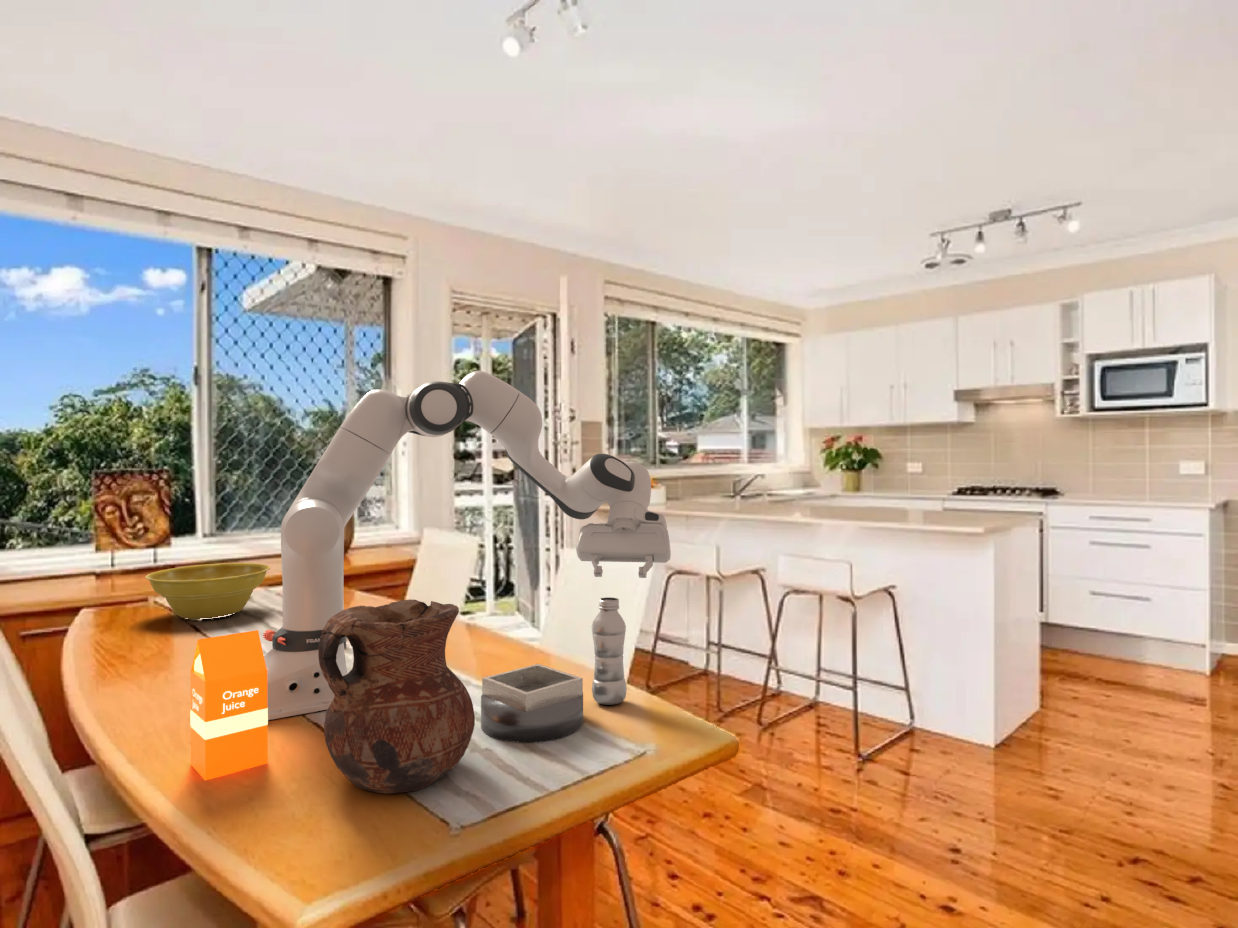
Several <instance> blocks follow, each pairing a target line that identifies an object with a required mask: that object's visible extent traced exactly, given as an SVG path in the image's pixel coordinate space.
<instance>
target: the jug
mask: <svg viewBox="0 0 1238 928" xmlns="http://www.w3.org/2000/svg"><path fill="white" fill-rule="evenodd" d="M459 609H460V608H459V607H458V605H455V604H452V603H445V604H443V603H440V602H437V601H433V600H431V601H430V605H427V603H426V602H424V601H419V600H417V599H401V600H397V601H393V602H390V603H389V604H383V605H379V606H371V605H370V606H369V605H368V606H366V605H356V606H351V607H348V608H345V609H344V610H342V611H340V612H339V613H338V614H336V615H334V616H332V617H331V618H330V619H329V620H328V621H327V623H326V625H325V627H324V629H323V631H322V635H321V638H320V642H319V653H318V657H319V664H320V668H321V671H322V674H323V676H324V677H325V679H326V680H327V682H328V685H329V687H330V689H331V690H332V692H333V693H334V699H333V700H332V702H331V704H330V706H329V708H328V709H327V710H326V714H325V718H324V725H323V728H324V729H323V735H324V739H325V744H326V749H327V751H328V753H329V755H330V758H331V759H332V761H333V762H334V764H335V765H336V766H335V767H337V769H338V770H339V771H340V772H341V773H342V774H343V775H344V776H345V777H346V778H347V779H348V780H349V781H350V782H351V783H352V785H354V786H355V787H357V788H359V789H361V790H365V791H367V792H372V793H379V794H401V793H402V794H403V793H408V792H414V791H417V790H421V789H423V788H426V787H428V786H430V785H432V784H433V783H435V782H436V781H439V779H441V778H443V777H444V776H445V775H447V774H448V773H449V772H450V771H451V770H453V768H455V767H456V766H457V765H458V763H459V762H460V761H461V759H462V758H463V757H464V755H465V753H466V751H467V749H468V748H469V745H470V742H471V740H472V736H473V733H474V729H475V725H476V724H475V718H476V717H475V709H474V704H473V701H472V698H471V696H470V694H469V691H468V690H467V689H468V688H466V686H465V684H464V683H463V682H462V680H461V679H460V678H459V677H458V676H457V675H456V674H455V673H454V672H453V671H452V670H451V669H450V667H448V666H447V660H446V646H447V640H448V635H449V633H450V630H451V628H452V626H453V624H454V622H455V620H456V618H457V617H458V615H459V612H460V610H459ZM345 636H346V639H347V640H348V642H349V644H350V646H351V647H352V653H353V657H352V658H353V663H352V668H351V670H350V671H348V674H346V675H344V676H342V674H341V672H340V670H339V668H338V665H337V663H336V654H337V651H338V647H339V643H340V640H341V638H342V637H345Z"/></svg>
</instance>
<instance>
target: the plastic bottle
mask: <svg viewBox="0 0 1238 928" xmlns="http://www.w3.org/2000/svg"><path fill="white" fill-rule="evenodd" d="M598 600H599V603H598V604H599V605H598V609H599V613H597V615H596V616H595V617H594V620H593V621H592V623H591V632H592V640H593V646H594V647H593V648H594V669H593V673H594V674H593V679H592V686H591V692H592V698H593V699H594V701H595V702H597V703H598V704H601V705H609V706H610V705H618V704H621V703H623V702H624V701H625V699H626V696H627V690H628V689H627V682H626V678H625V670H624V645H625V639H626V631H627V629H626V628H627V626H626V623H625V620H624V618H623V617H622V615H621V614H620V612H619V611H618V610H619V609H620V604H619V603H620V599H619V598H617V597H609V596H607V597H601V598H599V599H598Z"/></svg>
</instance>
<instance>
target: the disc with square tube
mask: <svg viewBox="0 0 1238 928" xmlns="http://www.w3.org/2000/svg"><path fill="white" fill-rule="evenodd" d="M583 678H584V677H579V676H577V675H574V674H571V673H567V672H565V671H562V670H559V669H555V668H553V667H549V666H546V665H543V664H540V663H535V664H531V665H529V666H528V665H527V666H524V667H520V668H516V669H512V670H508V671H505V672H504V671H503V672H501V673H497V674H496V673H495V674H493V675H489V676H484V677H482V679H481V680H482V684H481V685H482V688H481V690H482V691H481V693H482V694H481V697H480V729H481V730H482V732H483V734H486V735H487V736H489V737H491V738H493V739H496V740H500V741H504V742H509V743H510V742H511V743H518V744H519V743H520V744H521V743H523V744H524V743H525V744H526V743H529V744H530V743H543V742H544V743H545V742H550V741H551V742H552V741H555V740H558V739H559V740H560V739H563V738H566V737H569V736H571V735H573V734H575V733H576V732H578V731H579V730H580V729H581V728H582V726H583V725H584V692H583V691H584V690H583V686H584V685H583V684H584V682H583Z"/></svg>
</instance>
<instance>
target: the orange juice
mask: <svg viewBox="0 0 1238 928" xmlns="http://www.w3.org/2000/svg"><path fill="white" fill-rule="evenodd" d="M259 633H260V632H259V630H258V629H257V630H252V631H251V630H250V631H244V632H237V633H231V634H230V633H229V634H226V635H225V634H224V635H219V636H212V637H205V638H199V639H197V641H196V646H195V651H194V655H193V660H192V663H191V669H190V710H189V711H190V712H189V713H190V714H189V716H190V717H189V718H190V722H189V723H190V724H189V725H190V766H191V767H193V769H194V770H195V771H196V772H197V773H198V775H200V777H201V778H203V780H204V781H208V780H212V779H216V778H220V777H222V776H227V775H230V774H231V775H232V774H234V773H237V772H241V771H245V770H248V769H251V768H255V767H259V766H263V765H266V764H269V763H268V761H269V760H268V759H269V758H268V757H269V755H268V753H269V752H268V751H269V750H268V747H269V745H268V743H269V742H268V725H269V720H268V708H267V668H266V664H265V659H264V656H265V654H264V651H263V647H262V643H261V637H260V634H259Z"/></svg>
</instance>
